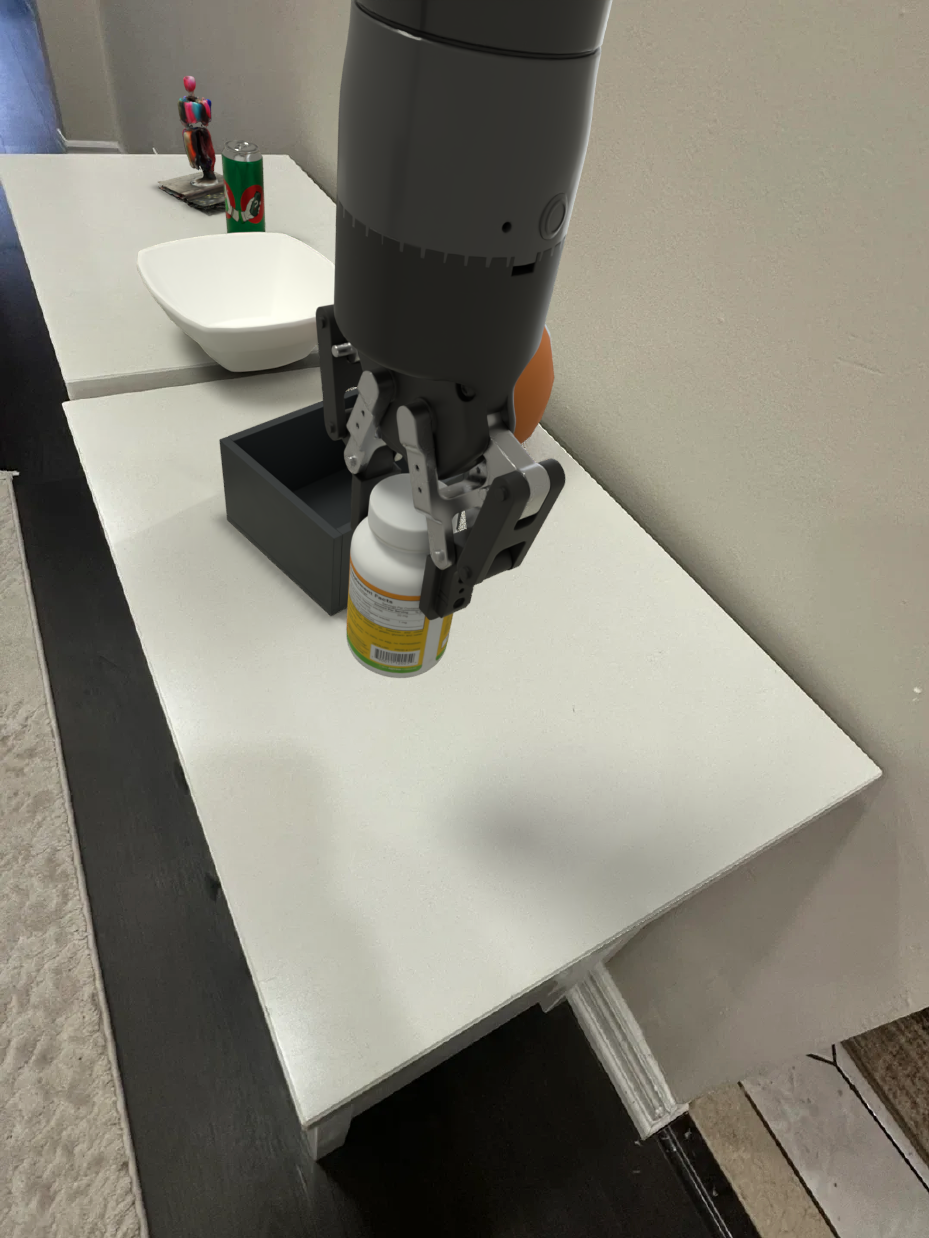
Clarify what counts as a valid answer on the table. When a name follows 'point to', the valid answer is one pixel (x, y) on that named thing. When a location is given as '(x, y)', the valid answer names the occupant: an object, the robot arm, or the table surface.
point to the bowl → (242, 294)
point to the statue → (197, 154)
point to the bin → (297, 498)
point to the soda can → (243, 187)
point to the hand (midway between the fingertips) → (406, 568)
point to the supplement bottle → (392, 586)
